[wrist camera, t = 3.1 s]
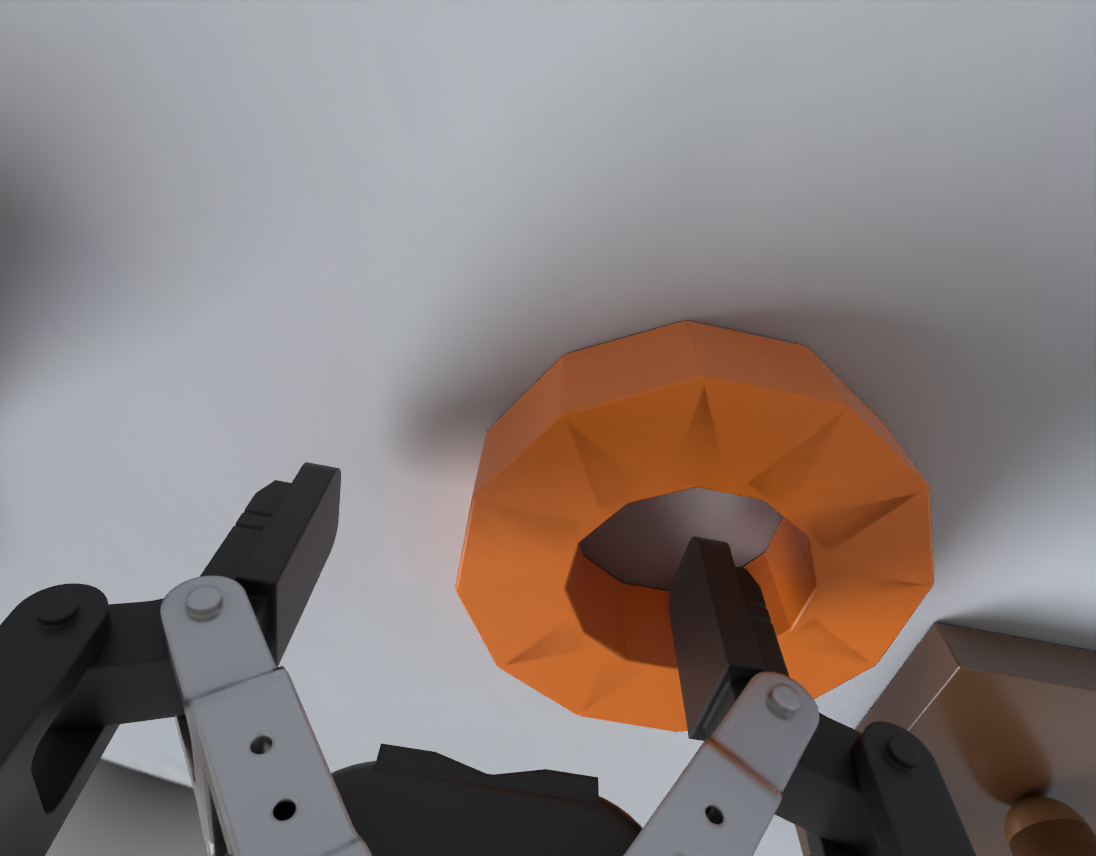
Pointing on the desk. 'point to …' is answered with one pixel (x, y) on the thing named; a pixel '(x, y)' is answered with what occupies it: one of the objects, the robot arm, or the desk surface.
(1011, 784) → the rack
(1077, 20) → the desk surface
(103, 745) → the robot arm
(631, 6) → the desk surface
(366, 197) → the desk surface
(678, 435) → the orange faceted ring
